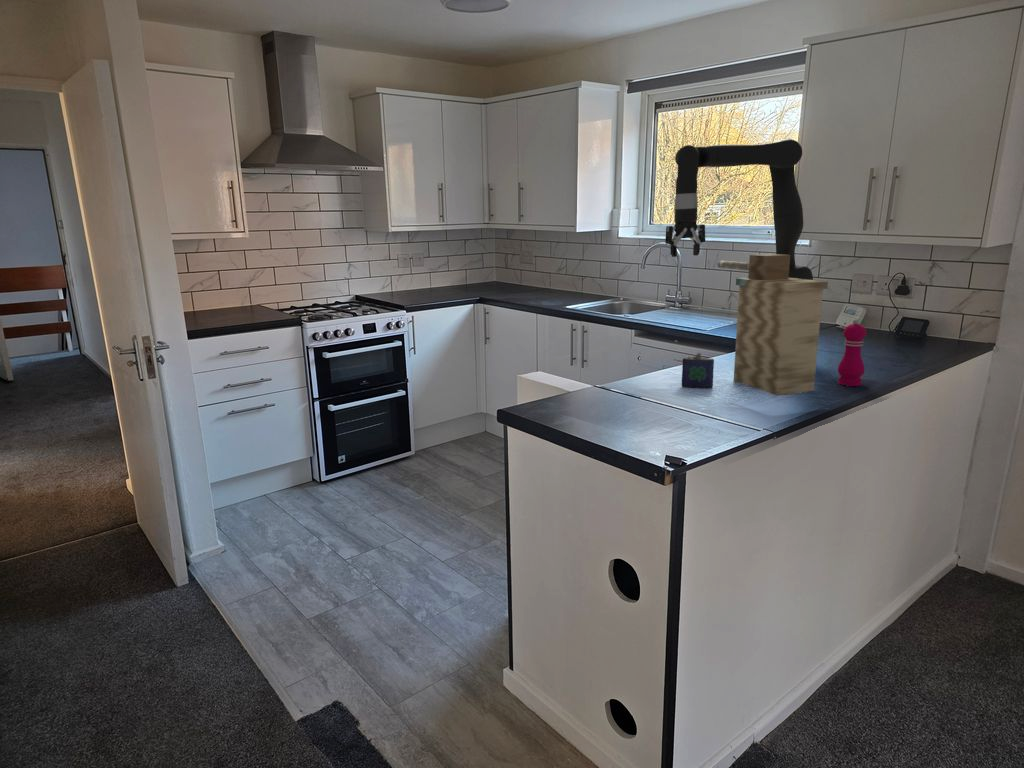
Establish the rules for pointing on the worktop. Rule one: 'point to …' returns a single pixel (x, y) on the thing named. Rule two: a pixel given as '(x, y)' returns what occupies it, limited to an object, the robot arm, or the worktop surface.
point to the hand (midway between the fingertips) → (685, 256)
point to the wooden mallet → (762, 266)
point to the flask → (697, 372)
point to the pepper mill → (852, 355)
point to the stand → (778, 334)
